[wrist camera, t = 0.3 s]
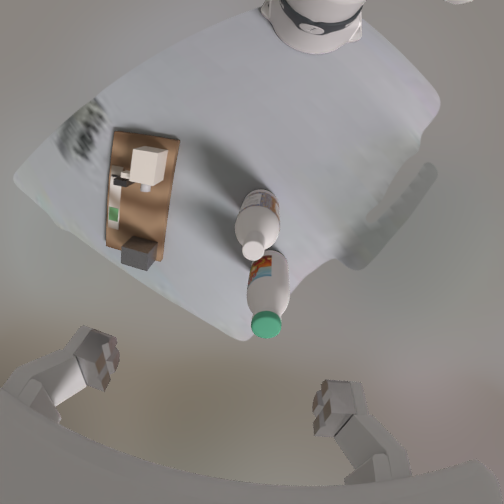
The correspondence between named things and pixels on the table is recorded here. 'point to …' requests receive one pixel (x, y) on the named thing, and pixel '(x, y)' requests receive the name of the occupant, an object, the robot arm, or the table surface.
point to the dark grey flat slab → (121, 181)
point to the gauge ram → (147, 167)
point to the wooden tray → (138, 194)
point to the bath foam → (257, 223)
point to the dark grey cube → (139, 253)
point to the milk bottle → (268, 293)
